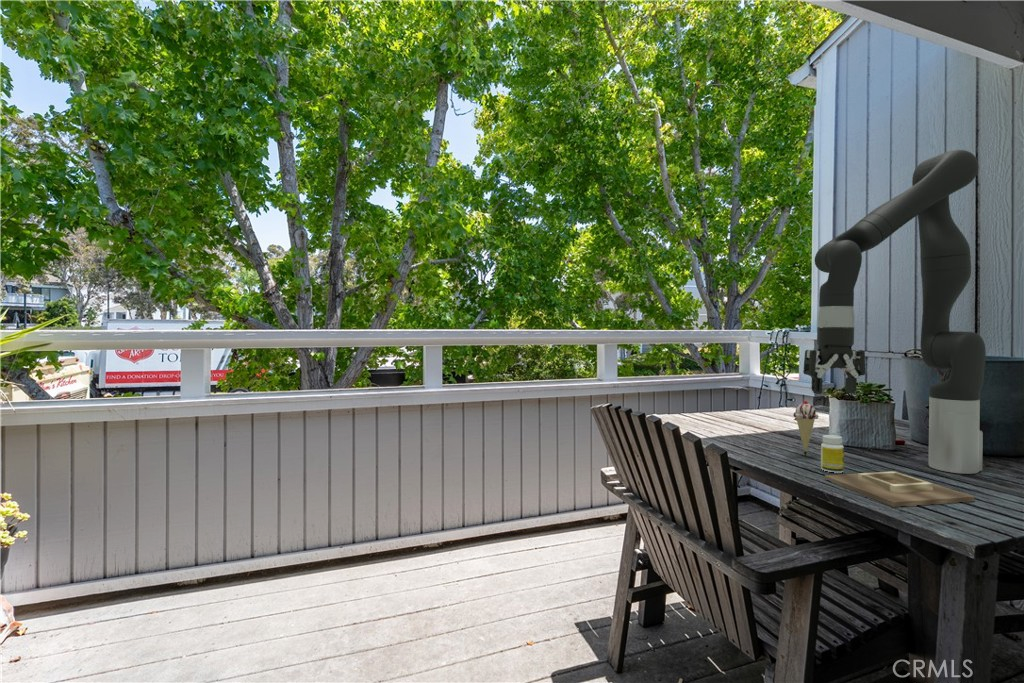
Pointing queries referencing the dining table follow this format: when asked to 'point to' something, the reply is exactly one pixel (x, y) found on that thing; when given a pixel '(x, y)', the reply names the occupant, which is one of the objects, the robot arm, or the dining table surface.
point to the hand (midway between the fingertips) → (833, 393)
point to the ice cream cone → (805, 422)
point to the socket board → (898, 489)
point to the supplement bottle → (832, 454)
